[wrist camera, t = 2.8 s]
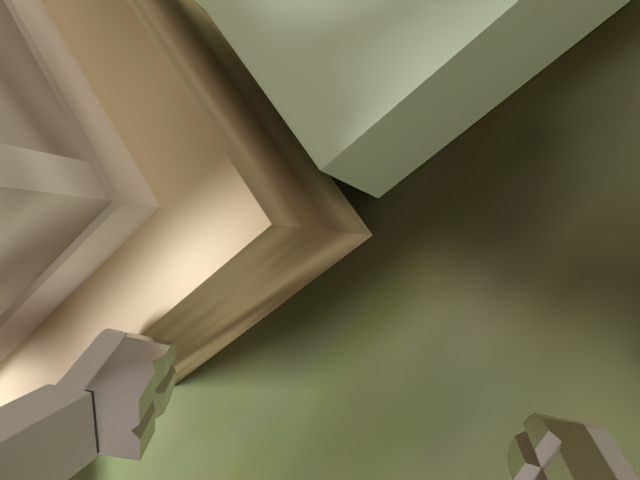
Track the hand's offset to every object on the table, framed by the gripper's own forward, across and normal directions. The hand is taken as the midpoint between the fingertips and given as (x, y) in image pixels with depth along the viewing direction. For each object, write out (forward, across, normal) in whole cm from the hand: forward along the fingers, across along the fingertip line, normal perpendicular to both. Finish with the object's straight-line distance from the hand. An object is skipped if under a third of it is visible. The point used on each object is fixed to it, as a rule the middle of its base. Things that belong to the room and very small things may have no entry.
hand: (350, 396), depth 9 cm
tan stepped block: (+10, +7, +1) cm, 12 cm away
